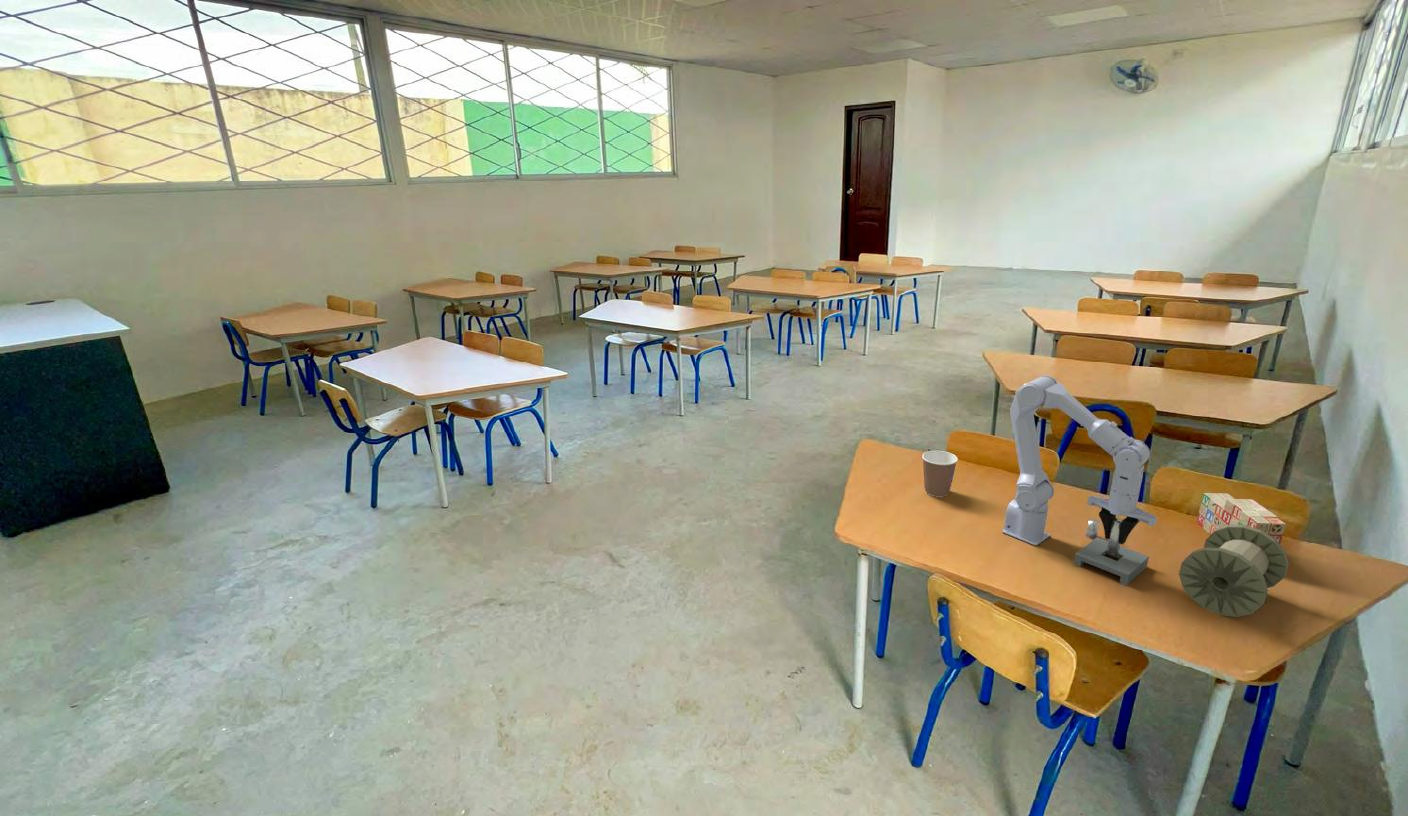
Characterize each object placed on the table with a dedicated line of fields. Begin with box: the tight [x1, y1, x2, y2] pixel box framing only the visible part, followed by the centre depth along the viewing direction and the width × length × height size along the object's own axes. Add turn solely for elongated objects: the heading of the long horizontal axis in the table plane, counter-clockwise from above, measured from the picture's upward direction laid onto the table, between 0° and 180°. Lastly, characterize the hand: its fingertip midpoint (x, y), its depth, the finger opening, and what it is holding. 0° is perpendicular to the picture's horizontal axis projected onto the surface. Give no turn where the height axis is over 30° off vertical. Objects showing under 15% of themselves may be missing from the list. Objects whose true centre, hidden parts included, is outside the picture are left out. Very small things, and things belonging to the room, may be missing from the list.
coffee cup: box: [921, 450, 959, 498], centre depth 198 cm, size 10×10×12 cm
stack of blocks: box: [1196, 492, 1287, 545], centre depth 165 cm, size 21×6×12 cm, turn 172°
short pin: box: [1085, 518, 1101, 540], centre depth 172 cm, size 3×3×4 cm
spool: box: [1178, 525, 1290, 618], centre depth 144 cm, size 16×15×15 cm
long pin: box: [1106, 517, 1124, 556], centre depth 157 cm, size 3×3×9 cm
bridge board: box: [1073, 536, 1150, 587], centre depth 159 cm, size 12×12×3 cm
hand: (1115, 540), depth 157 cm, fingers closed on long pin, 3 cm apart
